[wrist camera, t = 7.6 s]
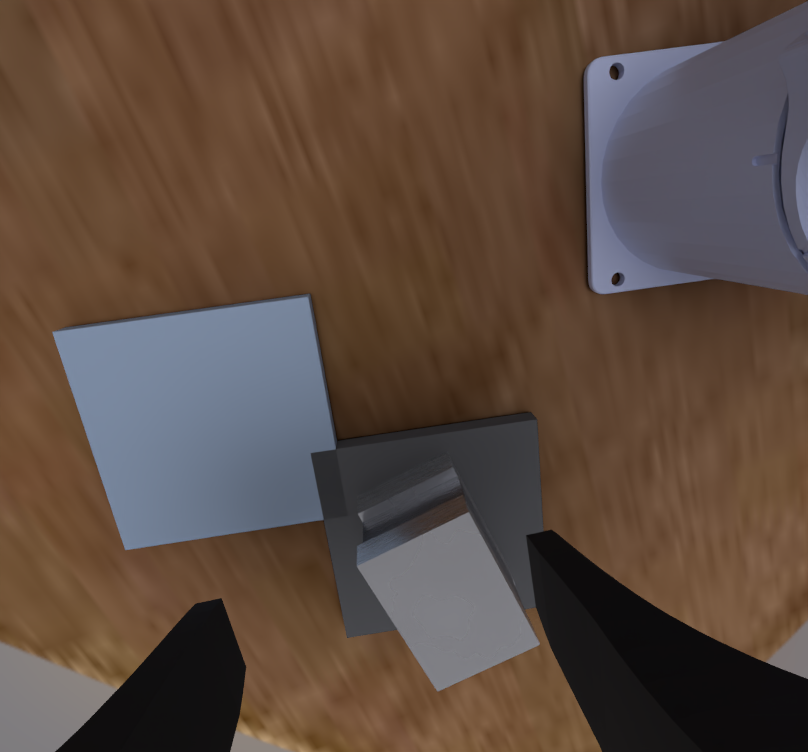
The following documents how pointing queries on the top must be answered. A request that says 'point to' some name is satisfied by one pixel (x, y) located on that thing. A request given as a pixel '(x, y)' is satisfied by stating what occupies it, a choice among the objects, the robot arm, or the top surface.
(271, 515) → the stand
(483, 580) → the block
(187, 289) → the top surface
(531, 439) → the stand
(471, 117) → the top surface
